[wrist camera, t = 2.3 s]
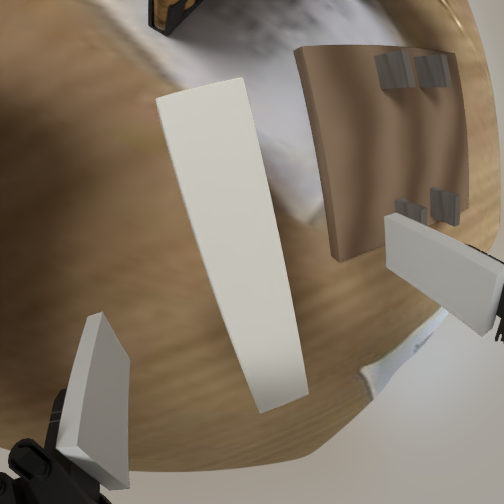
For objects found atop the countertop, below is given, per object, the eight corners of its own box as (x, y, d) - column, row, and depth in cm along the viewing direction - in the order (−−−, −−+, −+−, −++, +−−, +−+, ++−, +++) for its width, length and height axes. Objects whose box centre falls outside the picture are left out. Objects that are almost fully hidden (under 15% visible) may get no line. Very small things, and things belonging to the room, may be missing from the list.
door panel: (218, 306, 26) (259, 413, 16) (159, 118, 19) (155, 98, 9) (250, 295, 27) (309, 394, 16) (200, 106, 20) (242, 77, 9)
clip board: (331, 255, 28) (361, 279, 23) (293, 50, 20) (324, 35, 15) (459, 204, 31) (490, 217, 26) (445, 54, 23) (479, 51, 18)
